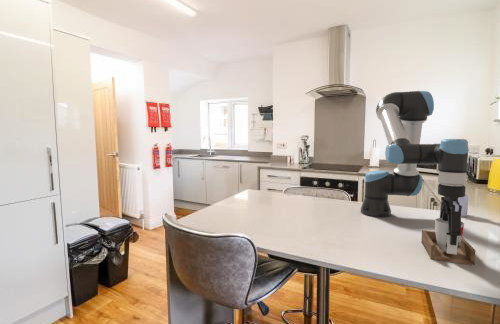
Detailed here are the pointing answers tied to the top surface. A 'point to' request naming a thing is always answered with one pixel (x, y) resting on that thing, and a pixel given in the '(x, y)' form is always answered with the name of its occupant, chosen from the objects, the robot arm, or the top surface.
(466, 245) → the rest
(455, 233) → the robot arm
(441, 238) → the cup
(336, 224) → the top surface
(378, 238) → the top surface
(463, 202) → the soap bottle
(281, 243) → the top surface
